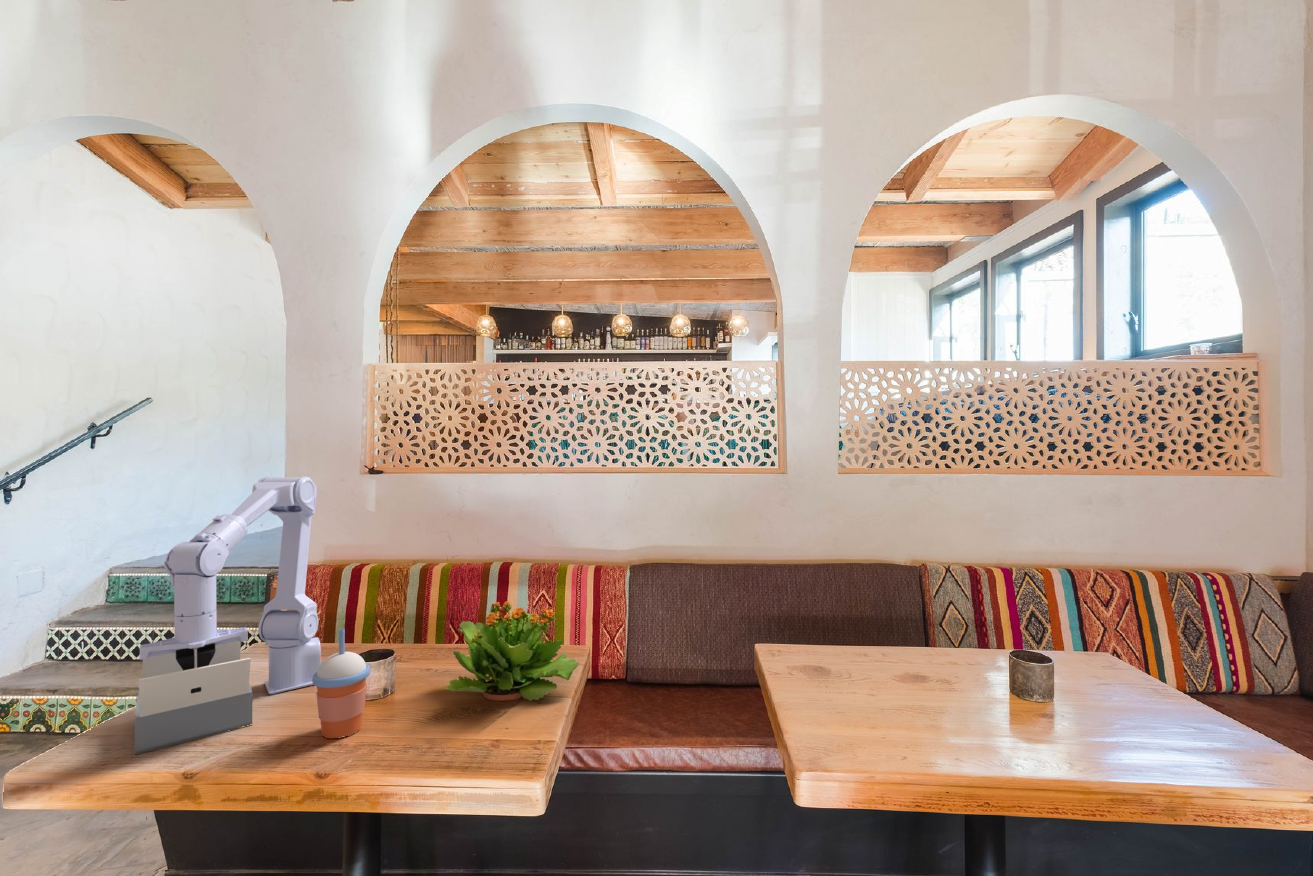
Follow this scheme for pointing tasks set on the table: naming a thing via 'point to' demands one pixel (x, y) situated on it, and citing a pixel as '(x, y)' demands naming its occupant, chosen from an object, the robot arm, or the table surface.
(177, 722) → the carton
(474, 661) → the potted flower
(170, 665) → the back flap
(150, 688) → the front flap
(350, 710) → the cup with straw
